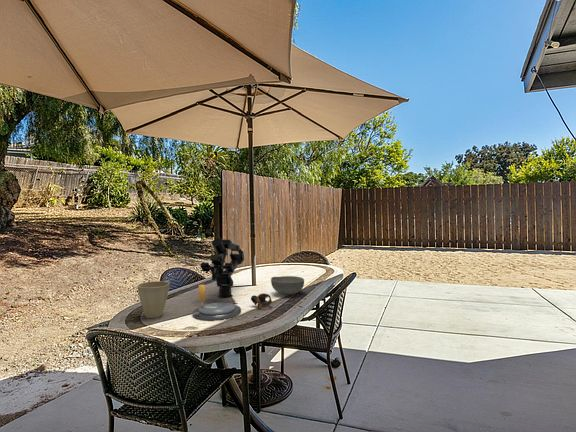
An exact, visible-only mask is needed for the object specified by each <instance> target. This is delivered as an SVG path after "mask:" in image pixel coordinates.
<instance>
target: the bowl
mask: <svg viewBox="0 0 576 432" xmlns="http://www.w3.org/2000/svg"><path fill="white" fill-rule="evenodd" d="M270 284H271V286H272V289H273V290H274V291H275V292H276V293H278V294H280V295H284V296H292V295H295V294H298V293H299V292H300V291H302V289H303V288H304V285H305V279H304V278H303V277H300V276H297V275H296V276H293V275H287V276H286V275H283V276H272V277H271V278H270Z"/></svg>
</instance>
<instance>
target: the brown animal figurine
mask: <svg viewBox="0 0 576 432" xmlns="http://www.w3.org/2000/svg"><path fill="white" fill-rule="evenodd" d="M267 298H269V300H266V299H267ZM250 301H251V302H252V303H253V304H254V305H255V306H257V307H258V309H259V310H260V309H261V310H262V309H263V308H266V307H269V306H271V304H272V303H273V300H272V297H271V295H270V294H268V293H266V292H265V293H259V294H258V295H255V294H253V295H252V296H251V298H250Z"/></svg>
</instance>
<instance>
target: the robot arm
mask: <svg viewBox="0 0 576 432" xmlns="http://www.w3.org/2000/svg"><path fill="white" fill-rule="evenodd" d="M211 245H212V247H213V249H214V251H215V252H216V253H214V254H213V253H212V254H210V257H209V261H211V263H210V264H209V262H208V261H207V262H201V263H200V265H199V267H200V269H201V271H202V272H205V273H209V272H211V280H212V281H216V282H215V283H216V287H219V289H218V297H220V298H222V299H225V298H230V297H233V294H232V287H234V280H233V278H232V276H233V274H234V272H235V270H236V268H237V267H238V265H241V264H243V262H244V261H245V253H244V251H243V250H242V249H241V247H240V244H235V243H233V241H232V240H231V239H229V238H228V239H226V238H224V239H222V238H221V237H218V236H217V237H216V239H213V241H212V242H211ZM228 250H230V251H231V252H230V254H229V253H228ZM233 252H237V253H233ZM228 254H229V257H230V262H226V257H227V256H228Z"/></svg>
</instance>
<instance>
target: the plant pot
mask: <svg viewBox="0 0 576 432" xmlns="http://www.w3.org/2000/svg"><path fill="white" fill-rule="evenodd" d="M136 287H137V292H138V293H137V294H138V297H139V298H138V299H139V301H140V305H141V307H142V310H143V313H144V315H145V317H146V318H147V319H156V318H160V317H161V316H162V315H163V313H164V310H165V307H166V304H167V300H168V295H169V288H170V282H168V281H164V280H163V281H162V280H158V281H147V282H141V283H139V284H138V285H137V286H136Z"/></svg>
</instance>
